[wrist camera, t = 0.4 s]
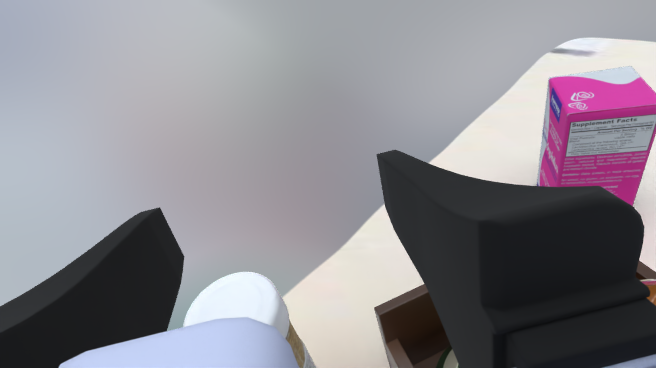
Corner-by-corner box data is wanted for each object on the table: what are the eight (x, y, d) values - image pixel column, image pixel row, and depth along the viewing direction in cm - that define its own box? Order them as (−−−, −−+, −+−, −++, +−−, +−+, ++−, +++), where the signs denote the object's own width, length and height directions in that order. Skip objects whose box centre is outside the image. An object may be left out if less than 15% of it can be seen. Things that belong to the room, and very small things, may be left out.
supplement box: (533, 185, 37) (547, 74, 30) (605, 182, 36) (637, 63, 29) (547, 229, 33) (567, 111, 26) (629, 228, 31) (674, 101, 24)
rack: (700, 377, 23) (765, 293, 18) (462, 513, 20) (459, 462, 15) (583, 279, 29) (606, 197, 24) (392, 375, 27) (373, 307, 22)
